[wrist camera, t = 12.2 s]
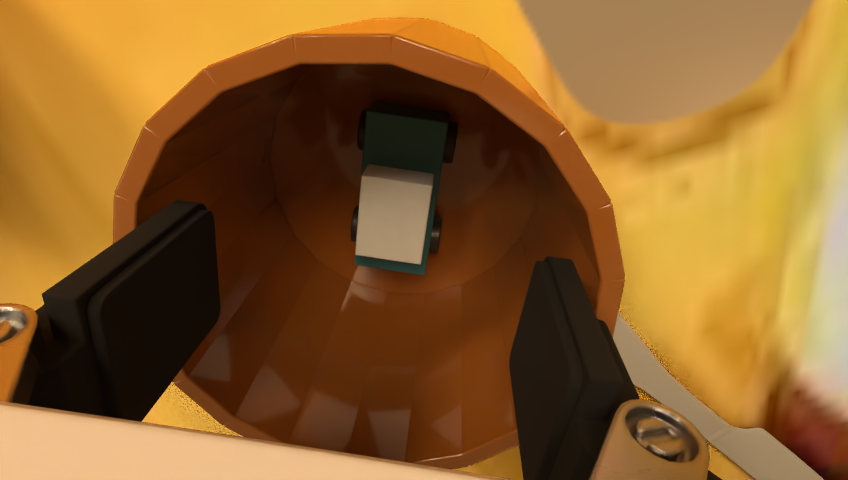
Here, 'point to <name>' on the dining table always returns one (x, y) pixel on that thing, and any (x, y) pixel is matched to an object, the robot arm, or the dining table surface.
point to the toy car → (400, 185)
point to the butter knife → (708, 415)
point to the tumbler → (335, 252)
